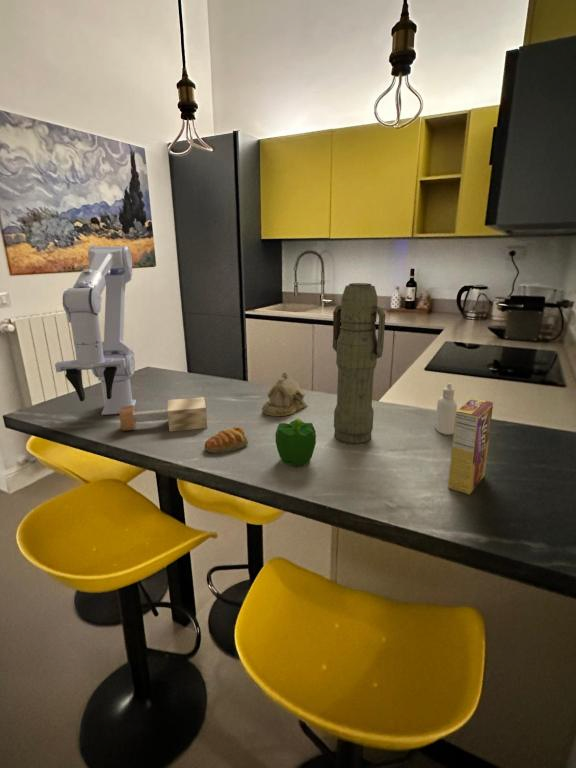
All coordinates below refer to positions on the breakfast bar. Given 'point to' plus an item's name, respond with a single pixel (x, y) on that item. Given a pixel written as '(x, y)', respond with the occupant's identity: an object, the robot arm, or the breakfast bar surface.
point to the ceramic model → (284, 397)
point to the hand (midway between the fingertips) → (96, 398)
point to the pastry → (227, 440)
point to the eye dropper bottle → (446, 412)
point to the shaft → (139, 416)
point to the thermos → (356, 361)
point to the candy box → (470, 445)
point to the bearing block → (187, 414)
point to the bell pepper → (295, 442)
